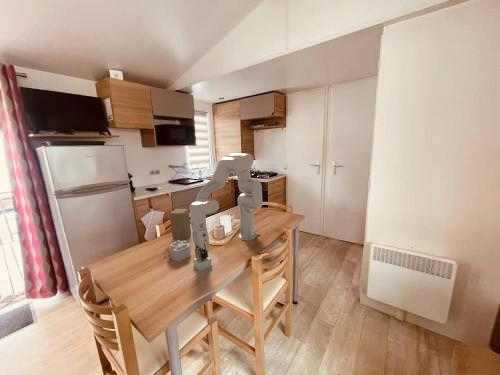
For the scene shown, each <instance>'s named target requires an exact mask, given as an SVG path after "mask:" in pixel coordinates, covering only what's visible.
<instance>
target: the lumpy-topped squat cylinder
mask: <svg viewBox="0 0 500 375" xmlns="http://www.w3.org/2000/svg"><path fill="white" fill-rule="evenodd" d="M191 251H192V249H191V244H190V243H188V242H187V241H186V240H174V241H173V242H171V243H170V244H169V254H170V259H172V261H174V262H181V261H183V260H185V259H188V258H191V255H192V253H191Z"/></svg>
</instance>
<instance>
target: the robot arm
mask: <svg viewBox="0 0 500 375" xmlns="http://www.w3.org/2000/svg"><path fill="white" fill-rule="evenodd" d="M253 164H254V156H253V155H252V154H251V153H240V152H239V153H238V152H237V153H230V154H229V155H228V157H223V158H221V159H220V160H219V162H218V163H217V166H216V167H215V170H214V172H213V175H212V177H211V179H210V180H208V181H207V183H205V184H204V185H203V186H202V187H201V188H200V190H199V191H198V194H197V195H196V197H195V200H194V202H192V203H190V204H189V217H190V227H191V235H192V243H193V244H194V247H195V248H194V249H196V248H198V247H200V248H201V251H202V253H201V257H202V260H204V259H206V258H207V251H208V252H209V249H210V248H209V246H210V238H209V237H210V236H209V232H208V229H207V219H206V215H209V214H210V215H211V214H214V213H217V211H218V210H219V208H220V203H219V201H218V200H216V199H213V198H209V196H210V195H211V194H212V193H213V192H215V191H217V190H219V189H222V188H224V187H225V186H226V185H227V181H228V179H229V177H230V175H231V173H234V174H237V183H238V184H237V186H238V190H239V191H240V192H243V193H240V194H239V195H238V197H237V205H238V209H239V211H238V212H239V227H240V228H239V229H240V233H239V234H238V238H239V239H240V240H242V241H244V242H245V241H246V242H247V241H252V240H255V239H256V238H257V234H256V233H257V232H258V231H259V228H258V227H257V228H255V224H254V223H255V221H254V210H259V209H261V208H262V206H263V188H262V186H263V185H262V183H261V181H260V180H259V179H258V178H251V171H250V168H251V167H252V166H253ZM203 248H205V249H204V250H203Z"/></svg>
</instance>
